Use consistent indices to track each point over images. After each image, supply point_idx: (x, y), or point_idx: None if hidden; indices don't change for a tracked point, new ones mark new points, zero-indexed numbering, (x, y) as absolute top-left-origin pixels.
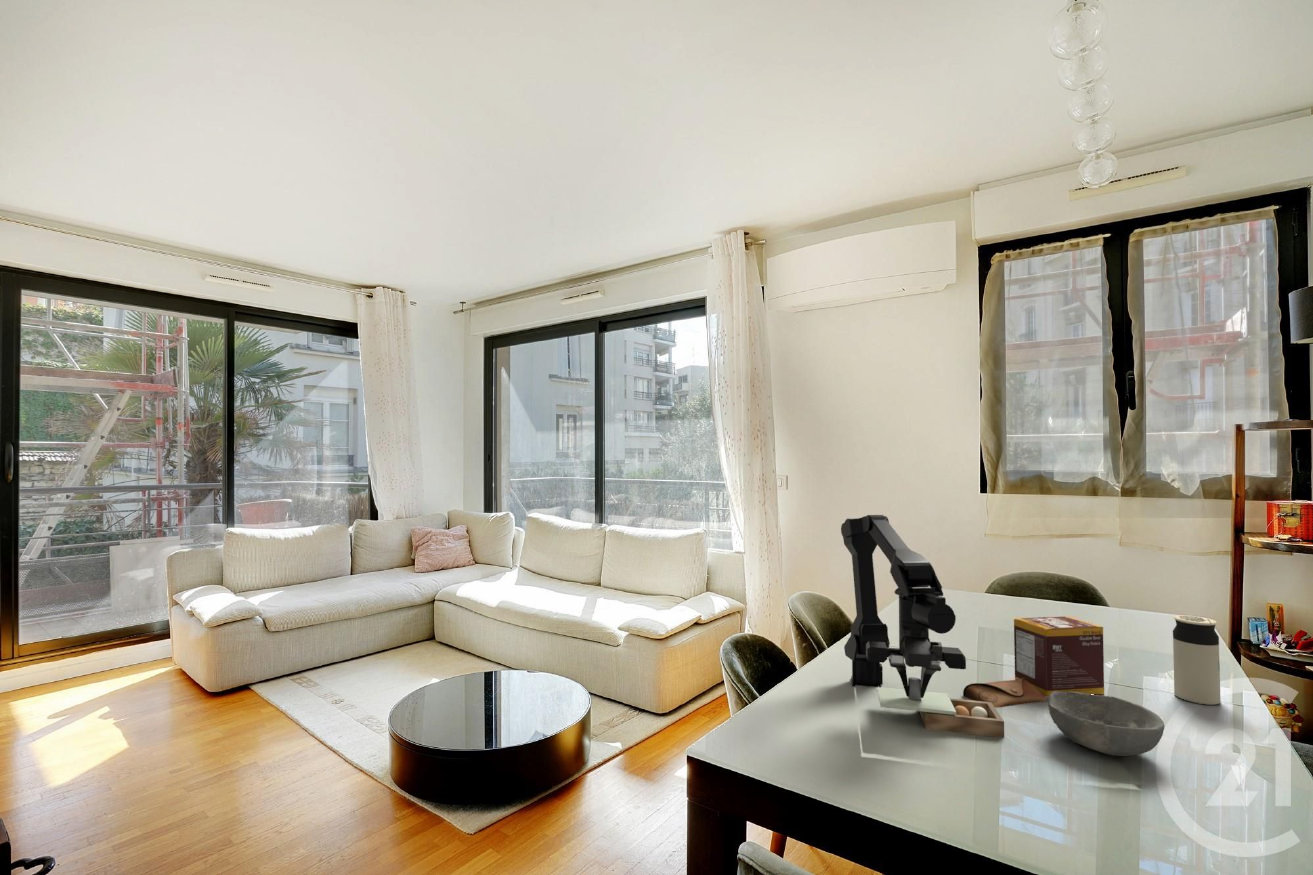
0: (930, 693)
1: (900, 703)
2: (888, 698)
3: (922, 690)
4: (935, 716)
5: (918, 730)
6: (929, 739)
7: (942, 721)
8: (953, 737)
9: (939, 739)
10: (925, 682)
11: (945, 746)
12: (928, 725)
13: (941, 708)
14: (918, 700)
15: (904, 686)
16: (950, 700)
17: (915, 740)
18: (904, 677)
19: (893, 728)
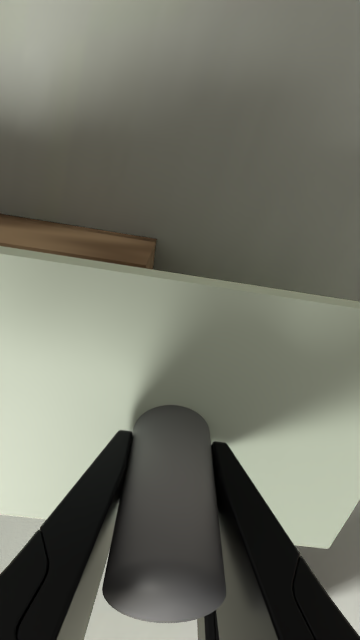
0: (56, 505)
1: (304, 352)
2: (346, 423)
3: (113, 470)
4: (83, 251)
5: (190, 252)
6: (164, 130)
7: (48, 237)
8: (23, 181)
9: (106, 138)
10: (64, 542)
11: (91, 18)
12: (138, 245)
13: (15, 292)
14: (155, 409)
15: (261, 505)
16: None
17: (254, 100)
18: (296, 606)
19: (313, 261)
